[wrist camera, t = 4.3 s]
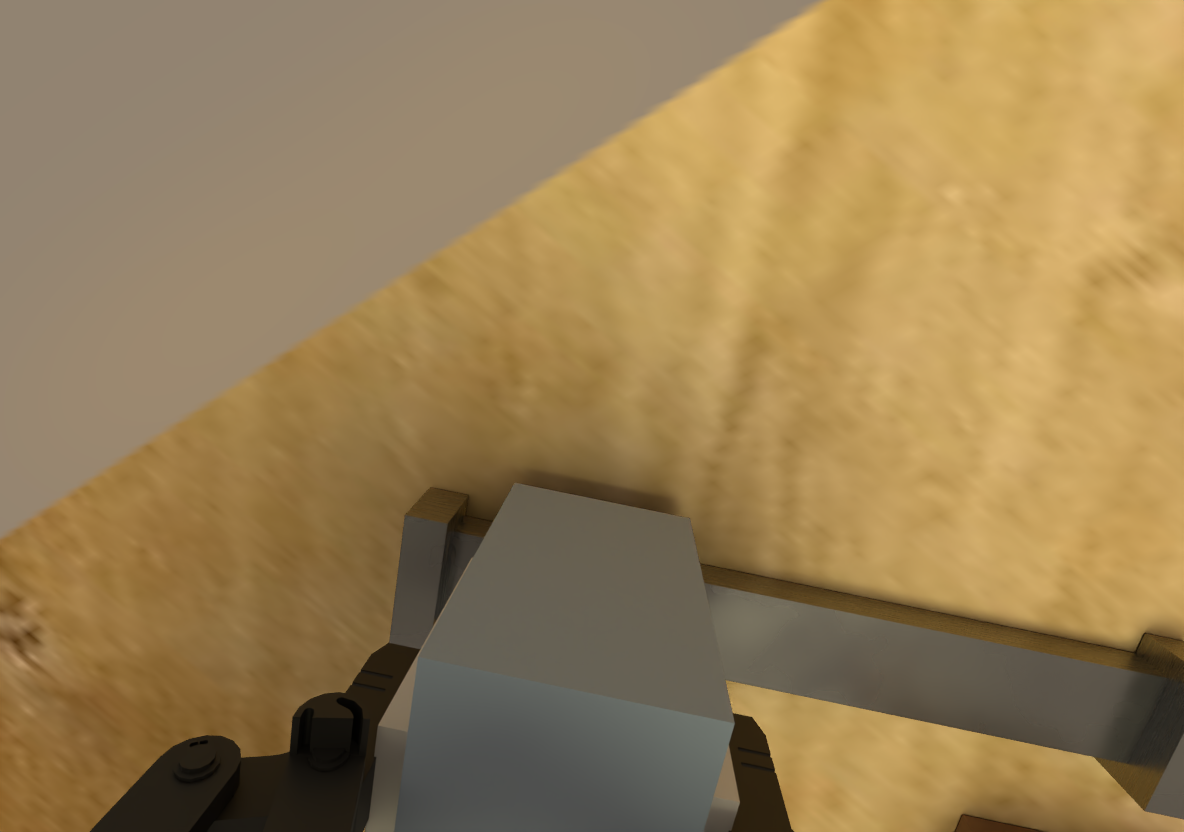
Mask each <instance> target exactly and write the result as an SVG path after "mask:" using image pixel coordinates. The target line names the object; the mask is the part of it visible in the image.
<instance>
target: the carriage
mask: <svg viewBox="0 0 1184 832" xmlns="http://www.w3.org/2000/svg"><path fill="white" fill-rule="evenodd" d="M734 724H735V722H734V718H733V713H732V708H731V704H730V699H729V695H728V690H727V686H726V681H725V676H724V672H723V667H722V663H721V658H720V654H719V649H718V644H717V640H716V635H715V631H714V626H713V622H712V617H711V612H710V608H709V603H708V599H707V594H706V590H705V585H704V580H703V576H702V571H701V567H700V562H699V557H698V553H697V548H696V544H695V539H694V535H693V530H692V525H691V521H690V518H686V517H681V516H676V515H671V514H666V513H661V512H657V511H652V510H647V509H642V508H637V507H632V506H627V505H622V504H617V503H612V502H607V501H603V500H598V499H593V498H588V497H583V496H578V495H573V494H568V493H563V492H558V491H553V490H548V489H544V488H539V487H534V486H529V485H524V484H519V483H514V485H513V487H512V489H511V490H510V492H509V494H508V496H507V498H506V499H505V501H504V503H503V505H502V507H501V508H500V510H499V512H498V514H497V516H496V517H495V519H494V521H493V523H492V525H491V526H490V528H489V530H488V532H487V534H486V535H485V537H484V539H483V541H482V543H481V544H480V546H479V548H478V550H477V552H476V553H475V555H474V557H473V559H472V561H471V562H470V564H469V566H468V568H467V570H466V571H465V573H464V575H463V577H462V579H461V580H460V582H459V584H458V586H457V588H456V589H455V591H454V593H453V595H452V597H451V598H450V600H449V602H448V604H447V606H446V607H445V609H444V611H443V613H442V615H441V616H440V618H439V620H438V622H437V624H436V625H435V627H434V629H433V631H432V633H431V635H430V636H429V638H428V640H427V642H426V644H425V645H424V647H423V649H422V651H421V653H420V654H419V656H418V661H417V668H416V675H415V683H414V690H413V697H412V705H411V712H410V719H409V726H408V734H407V741H406V748H405V755H404V763H403V770H402V777H401V785H400V792H399V799H398V806H397V814H396V821H395V828H394V832H703V831H704V827H705V824H706V821H707V817H708V814H709V810H710V807H711V803H712V800H713V797H714V793H715V790H716V786H717V783H718V779H719V776H720V773H721V769H722V766H723V762H724V759H725V755H726V752H727V749H728V745H729V742H730V738H731V735H732V731H733V728H734Z"/></svg>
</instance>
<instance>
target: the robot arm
mask: <svg viewBox="0 0 1184 832" xmlns="http://www.w3.org/2000/svg"><path fill="white" fill-rule="evenodd" d="M472 559H473V558H471V560H470V562H471V561H472ZM470 562H469V563H468V565H467V567H466V569H465V570H464V572H463V574H462V576H461V578H460V579H459V581H458V583H457V585H456V587H455V588H454V590H453V592H452V594H451V596H450V597H449V599H448V601H447V603H446V604H445V606H444V608H443V610H442V612H441V613H440V615H439V617H438V619H437V621H436V622H435V624H434V626H433V628H432V630H431V631H430V633H429V635H428V637H427V638H426V640H425V642H424V644H423V646H422V647H421V649H417V648H412V647H407V646H402V645H397V644H393V643H388V644H386V645H385V646H383V647H382V648H380V649H379V650H377V651H376V652H374V653H373V654H371V656H370V657H369V659H368V660H367V662H366V663H365V665H364V666H363V668H362V669H361V672H360V673H359V674H358V675H357V677H356V678H355V680H354V681H353V683H352V685H350V687H349V688H348V690H347V691H346V693H340V692H338V693H328V694H323V695H320V696H317V697H314V698H312V699H310V700H308V701H307V702H306V703H304V704H303V705H301V706H300V707H299V708H298V710H297V711H296V713H295V714H294V716H293V719H292V731H291V743H290V752H287V753H284V754H280V755H273V756H262V757H246V758H241V753H240V748H239V747H238V746H237V744H236V743H235V742H234V741H233V740H230V739H228V738H225V737H223V736H209V735H206V736H201V737H196V738H192V739H188V740H186V741H184V742H182V743H180V744H177V745H175V746H173V747H172V748H171V749H169V750H168V751H167V752H166V753H164V754H163V755H162V756H161V757H160V758H159V759H158V760H157V761H156V762H155V763H154V764H153V765H152V766H151V767H150V768H149V769H148V770H147V771H146V772H145V773H144V775H143V776H142V777H141V778H140V779H139V780H138V781H137V782H136V783H135V784H134V785H133V786H132V787H131V788H130V789H129V790H128V791H127V793H126V794H125V795H124V796H123V797H122V798H121V799H120V800H119V801H118V802H117V803H116V804H115V805H114V806H113V807H112V808H111V810H110V811H109V812H108V813H107V814H106V815H105V816H104V817H103V818H102V819H101V820H100V821H99V822H98V823H97V824H96V825H95V826H94V828H93V829H92V830H91V831H90V832H363V830H364V828H365V832H394V828H395V821H396V814H397V806H398V799H399V792H400V785H401V777H402V770H403V763H404V755H405V748H406V741H407V734H408V726H409V719H410V712H411V705H412V697H413V690H414V683H415V675H416V668H417V661H418V656H419V654H420V653H421V651H422V649H423V647H424V645H425V644H426V642H427V640H428V638H429V636H430V635H431V633H432V631H433V629H434V627H435V625H436V624H437V622H438V620H439V618H440V616H441V615H442V613H443V611H444V609H445V607H446V606H447V604H448V602H449V600H450V598H451V597H452V595H453V593H454V591H455V589H456V588H457V586H458V584H459V582H460V580H461V579H462V577H463V575H464V573H465V571H466V570H467V568H468V566H469V564H470ZM733 718H734V722H735V724H734V728H733V731H732V735H731V738H730V742H729V745H728V749H727V752H726V755H725V759H724V762H723V766H722V769H721V773H720V776H719V779H718V783H717V786H716V790H715V793H714V797H713V800H712V803H711V807H710V810H709V814H708V817H707V821H706V824H705V827H704V831H703V832H794V831H793V830H792V829H791V826H790V822H789V818H788V815H787V811H786V808H785V804H784V800H783V797H782V793H781V790H780V786H779V782H778V779H777V775H776V773H775V768H774V764H773V761H772V758H771V757H770V755H771V754H770V750H769V747H768V743H767V739H766V736H765V734H764V733H763V731H762V730H761V729H760V727H759V726H758V725H757V723H756V722H755V720H754V719H753V718H752V717H749V716H744V715H739V714H734V713H733ZM365 826H366V827H365Z"/></svg>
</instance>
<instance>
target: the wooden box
mask: <svg viewBox="0 0 1184 832" xmlns="http://www.w3.org/2000/svg"><path fill="white" fill-rule="evenodd" d="M956 832H1042V831H1037V830H1032V829H1027V828H1023V827H1018V826H1013V825H1009V824H1004V823H999V822H994V821H990V820H985V819H980V818H975V817H971V816H966V815H962V817H961V820H960V822H959V824H958V827H957V829H956Z"/></svg>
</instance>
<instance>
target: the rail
mask: <svg viewBox="0 0 1184 832" xmlns="http://www.w3.org/2000/svg"><path fill="white" fill-rule="evenodd" d="M467 501H468V495H465V494H460V493H455V492H451V491H446V490H441V489H436V488H431V487H430V489H429V490H428V491H427V492H426V493H425V494H424V495H423V496H422V497H421V498H420V499H419V500H418V502H417V503H416V504H415V505H414V506H413V507H412V508H411V509H410V510H409V511H408V512H407V513H406V515H405V519H404V528H403V536H402V544H401V552H400V560H399V568H398V576H397V584H396V592H395V600H394V608H393V617H392V625H391V633H390V641H389V643H393V644H397V645H402V646H407V647H412V648H417V649H421V647H422V646H423V644H424V642H425V640H426V638H427V637H428V635H429V633H430V631H431V630H432V628H433V626H434V624H435V622H436V621H437V619H438V617H439V615H440V613H441V612H442V610H443V608H444V606H445V604H446V603H447V601H448V599H449V597H450V596H451V594H452V592H453V590H454V588H455V587H456V585H457V583H458V581H459V579H460V578H461V576H462V574H463V572H464V570H465V569H466V567H467V565H468V563H469V562H470V560H471V558H473V557H474V555H475V553H476V552H477V550H478V548H479V546H480V544H481V543H482V541H483V539H484V537H485V535H486V534H487V532H488V530H489V528H490V526H491V525H492V523H493V521H488V520H484V519H479V518H474V517H469V516H465V514H466V507H467ZM700 567H701V571H702V576H703V580H704V585H705V590H706V594H707V599H708V603H709V608H710V612H711V617H712V622H713V626H714V631H715V635H716V640H717V644H718V649H719V654H720V658H721V663H722V667H723V672H724V676H725V680H728V681H733V682H738V683H742V684H747V685H752V686H757V687H761V688H766V689H771V690H776V691H781V692H785V693H790V694H795V695H800V696H805V697H809V698H814V699H819V700H824V701H829V702H833V703H838V704H843V705H848V706H853V707H857V708H862V709H867V710H872V711H877V712H881V713H886V714H891V715H896V716H900V717H905V718H910V719H915V720H920V721H924V722H929V723H934V724H939V725H944V726H948V727H953V728H958V729H963V730H968V731H972V732H977V733H982V734H987V735H992V736H996V737H1001V738H1006V739H1011V740H1016V741H1020V742H1025V743H1030V744H1035V745H1040V746H1044V747H1049V748H1054V749H1059V750H1063V751H1068V752H1073V753H1078V754H1083V755H1087V756H1092V757H1094V758H1095V759H1096V760H1097V761H1098V762H1099V763H1100V764H1101V765H1102V766H1103V767H1104V768H1105V769H1106V770H1107V772H1108V773H1109V774H1110V775H1111V776H1112V777H1113V778H1114V779H1115V780H1116V781H1117V782H1118V783H1119V784H1120V785H1121V787H1122V788H1123V789H1124V790H1125V791H1126V792H1127V793H1128V794H1129V795H1130V796H1131V797H1132V798H1133V799H1134V800H1135V801H1136V803H1137V804H1138V805H1139V806H1140V807H1141V808H1142V809H1143V810H1144V811H1147V812H1151V813H1156V814H1161V815H1166V816H1171V817H1175V818H1180V819H1184V641H1180V640H1175V639H1170V638H1165V637H1161V636H1156V635H1151V634H1146V633H1145V634H1144V637H1143V639H1142V641H1141V643H1140V645H1139V647H1138V649H1137V652H1136V653H1132V652H1128V651H1123V650H1118V649H1113V648H1108V647H1103V646H1098V645H1093V644H1089V643H1084V642H1079V641H1074V640H1069V639H1064V638H1059V637H1054V636H1050V635H1045V634H1040V633H1035V632H1030V631H1025V630H1020V629H1015V628H1011V627H1006V626H1001V625H996V624H991V623H986V622H981V621H976V620H971V619H967V618H962V617H957V616H952V615H947V614H942V613H937V612H932V611H928V610H923V609H918V608H913V607H908V606H903V605H898V604H893V603H889V602H884V601H879V600H874V599H869V598H864V597H859V596H854V595H849V594H845V593H840V592H835V591H830V590H825V589H820V588H815V587H810V586H806V585H801V584H796V583H791V582H786V581H781V580H776V579H771V578H767V577H762V576H757V575H752V574H747V573H742V572H737V571H732V570H728V569H723V568H718V567H713V566H708V565H703V564H700Z"/></svg>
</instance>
